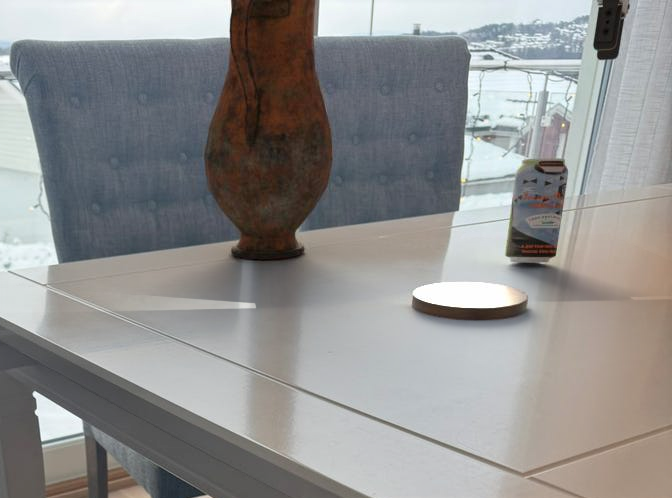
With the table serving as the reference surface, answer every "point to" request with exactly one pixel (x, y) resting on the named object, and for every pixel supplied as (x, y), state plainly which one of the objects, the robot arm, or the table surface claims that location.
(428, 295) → the walnut puck
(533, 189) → the beverage can
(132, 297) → the table surface
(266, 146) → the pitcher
